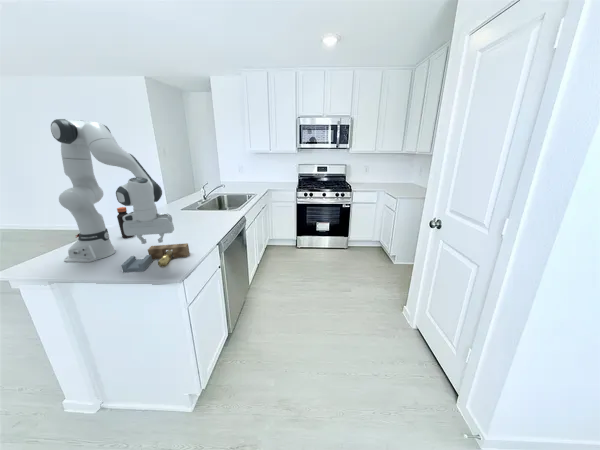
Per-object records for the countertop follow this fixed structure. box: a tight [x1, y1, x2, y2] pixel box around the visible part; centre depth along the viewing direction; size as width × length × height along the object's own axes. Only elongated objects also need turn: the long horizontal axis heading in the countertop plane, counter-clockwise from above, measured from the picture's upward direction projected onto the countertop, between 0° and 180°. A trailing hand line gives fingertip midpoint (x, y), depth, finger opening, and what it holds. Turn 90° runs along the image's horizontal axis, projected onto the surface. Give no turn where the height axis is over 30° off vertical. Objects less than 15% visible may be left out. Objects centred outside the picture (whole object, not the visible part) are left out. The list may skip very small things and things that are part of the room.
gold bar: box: [157, 250, 174, 268], centre depth 128 cm, size 12×4×4 cm, turn 10°
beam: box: [147, 242, 190, 261], centre depth 134 cm, size 19×5×6 cm, turn 100°
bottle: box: [116, 206, 134, 239], centre depth 161 cm, size 7×7×20 cm
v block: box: [121, 254, 153, 274], centre depth 123 cm, size 10×10×4 cm
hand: (152, 242), depth 114 cm, fingers open, 6 cm apart
